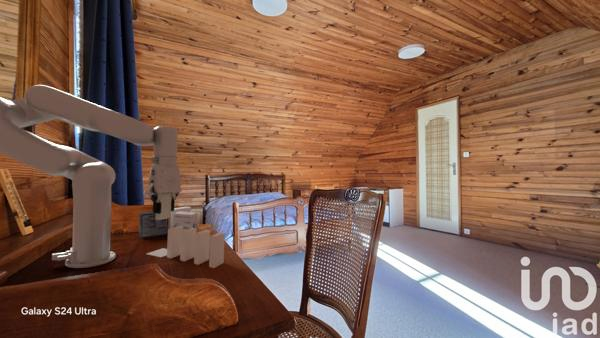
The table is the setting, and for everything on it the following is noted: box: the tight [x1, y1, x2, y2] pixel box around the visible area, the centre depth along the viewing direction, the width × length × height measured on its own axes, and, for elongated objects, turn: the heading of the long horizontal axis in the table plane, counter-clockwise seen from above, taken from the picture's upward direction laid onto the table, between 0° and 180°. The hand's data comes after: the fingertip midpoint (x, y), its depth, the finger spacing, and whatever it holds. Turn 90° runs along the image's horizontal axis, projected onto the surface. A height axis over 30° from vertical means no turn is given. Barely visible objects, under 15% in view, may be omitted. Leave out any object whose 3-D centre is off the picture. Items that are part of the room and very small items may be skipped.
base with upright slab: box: [168, 206, 192, 229], centre depth 118 cm, size 9×9×12 cm
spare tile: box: [156, 192, 172, 220], centre depth 93 cm, size 2×5×10 cm, turn 159°
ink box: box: [173, 211, 199, 233], centre depth 108 cm, size 9×5×12 cm, turn 84°
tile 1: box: [208, 232, 226, 269], centre depth 84 cm, size 2×5×10 cm, turn 159°
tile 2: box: [193, 229, 211, 265], centre depth 87 cm, size 2×5×10 cm, turn 159°
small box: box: [138, 210, 169, 239], centre depth 114 cm, size 11×6×10 cm, turn 130°
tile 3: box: [179, 228, 196, 262], centre depth 89 cm, size 2×5×10 cm, turn 159°
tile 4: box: [166, 226, 183, 259], centre depth 91 cm, size 2×5×10 cm, turn 159°
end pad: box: [146, 247, 167, 259], centre depth 93 cm, size 7×7×1 cm
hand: (163, 211), depth 93 cm, fingers closed on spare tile, 4 cm apart
